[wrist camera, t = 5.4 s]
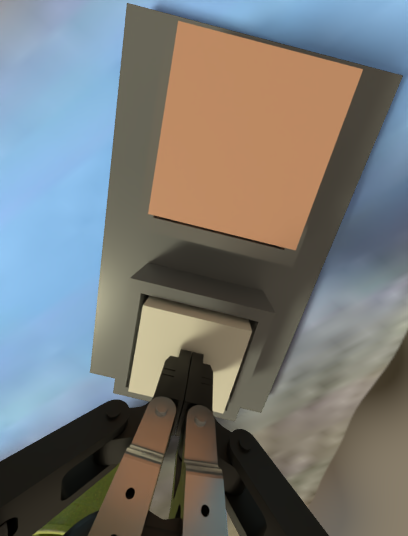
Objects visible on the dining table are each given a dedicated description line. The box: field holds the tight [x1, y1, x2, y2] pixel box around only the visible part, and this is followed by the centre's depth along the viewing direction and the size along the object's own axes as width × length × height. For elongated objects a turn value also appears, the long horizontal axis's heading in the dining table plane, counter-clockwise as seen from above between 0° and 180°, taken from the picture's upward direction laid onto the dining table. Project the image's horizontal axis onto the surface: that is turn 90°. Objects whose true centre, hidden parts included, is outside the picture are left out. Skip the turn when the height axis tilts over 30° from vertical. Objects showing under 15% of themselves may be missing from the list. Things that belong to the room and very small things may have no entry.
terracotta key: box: [148, 21, 363, 250], centre depth 10 cm, size 7×7×3 cm
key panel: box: [90, 3, 403, 421], centre depth 15 cm, size 16×26×5 cm, turn 167°
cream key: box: [128, 296, 252, 414], centre depth 15 cm, size 7×7×3 cm
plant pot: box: [32, 463, 120, 536], centre depth 20 cm, size 9×9×9 cm
